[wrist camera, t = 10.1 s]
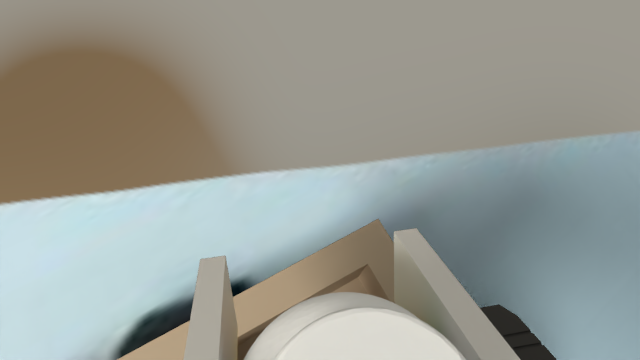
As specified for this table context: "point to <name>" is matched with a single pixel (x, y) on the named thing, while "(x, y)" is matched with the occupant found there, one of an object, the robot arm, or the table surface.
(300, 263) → the divided compartment tray
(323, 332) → the supplement bottle
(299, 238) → the table surface
